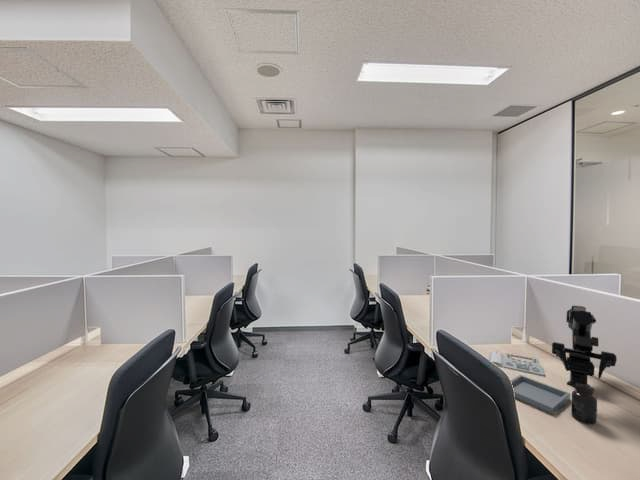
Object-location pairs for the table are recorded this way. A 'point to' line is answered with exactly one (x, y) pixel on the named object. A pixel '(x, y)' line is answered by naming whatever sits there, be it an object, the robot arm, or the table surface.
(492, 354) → the office telephone
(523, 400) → the tray
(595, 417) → the supplement bottle
